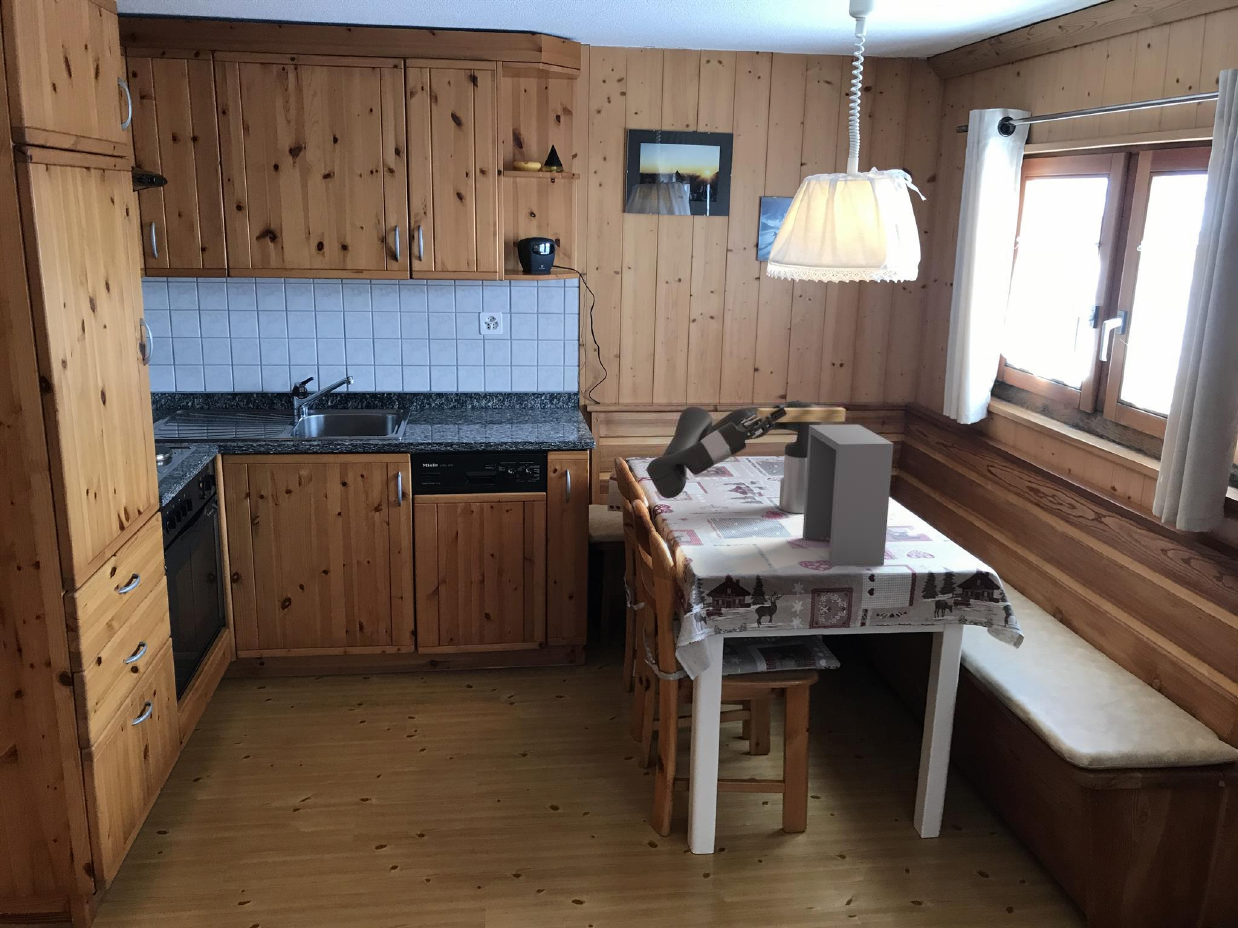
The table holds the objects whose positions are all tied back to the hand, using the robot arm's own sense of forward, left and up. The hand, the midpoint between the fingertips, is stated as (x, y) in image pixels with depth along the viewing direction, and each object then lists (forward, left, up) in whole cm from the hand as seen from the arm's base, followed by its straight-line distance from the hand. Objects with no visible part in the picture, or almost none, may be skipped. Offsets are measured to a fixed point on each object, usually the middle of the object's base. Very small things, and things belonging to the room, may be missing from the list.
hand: (782, 409), depth 251 cm
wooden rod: (+3, +4, -3) cm, 6 cm away
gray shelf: (+10, +20, -40) cm, 46 cm away
